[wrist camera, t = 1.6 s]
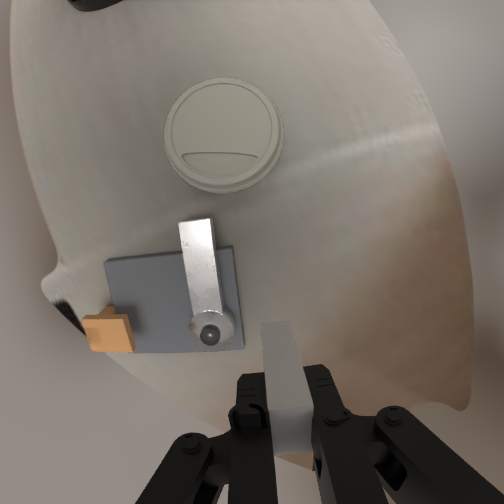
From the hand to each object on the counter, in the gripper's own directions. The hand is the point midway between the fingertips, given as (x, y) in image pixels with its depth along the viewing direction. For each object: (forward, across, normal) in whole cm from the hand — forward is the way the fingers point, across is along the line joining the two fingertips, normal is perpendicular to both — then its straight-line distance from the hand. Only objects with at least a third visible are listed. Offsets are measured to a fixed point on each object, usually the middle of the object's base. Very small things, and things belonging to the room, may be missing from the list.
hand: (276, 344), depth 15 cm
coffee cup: (+17, -2, +12) cm, 21 cm away
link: (+15, -6, -1) cm, 16 cm away
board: (+17, -10, -4) cm, 20 cm away
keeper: (+17, -17, -5) cm, 25 cm away
